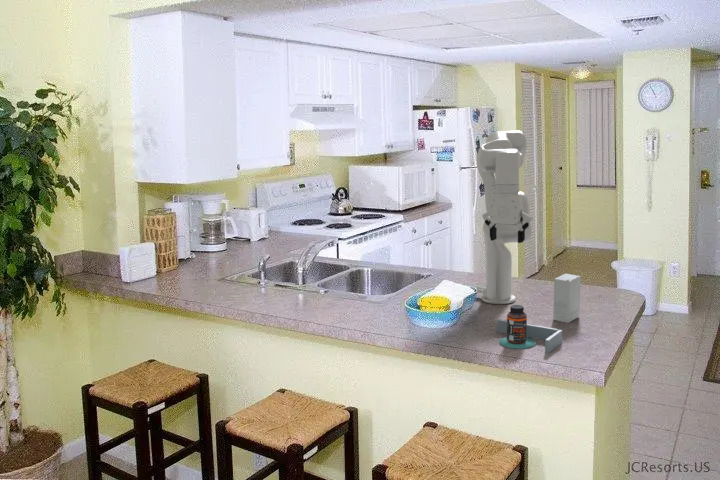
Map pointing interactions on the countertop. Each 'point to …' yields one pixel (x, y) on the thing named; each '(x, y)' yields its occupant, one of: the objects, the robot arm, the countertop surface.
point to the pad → (527, 344)
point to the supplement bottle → (516, 325)
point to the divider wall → (537, 334)
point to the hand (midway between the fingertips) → (506, 241)
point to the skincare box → (566, 297)
